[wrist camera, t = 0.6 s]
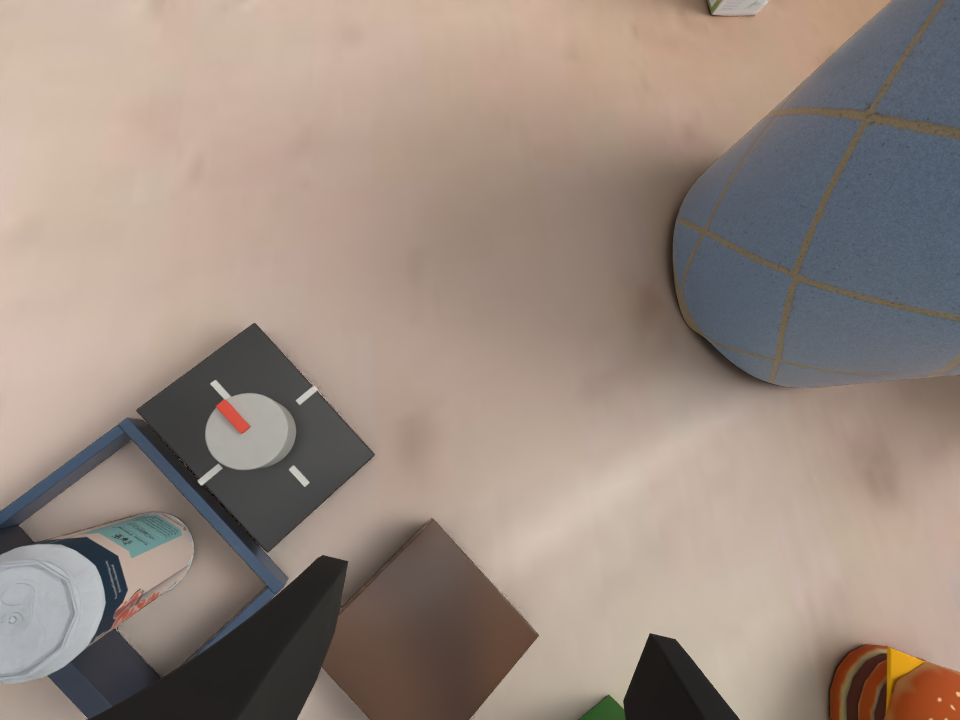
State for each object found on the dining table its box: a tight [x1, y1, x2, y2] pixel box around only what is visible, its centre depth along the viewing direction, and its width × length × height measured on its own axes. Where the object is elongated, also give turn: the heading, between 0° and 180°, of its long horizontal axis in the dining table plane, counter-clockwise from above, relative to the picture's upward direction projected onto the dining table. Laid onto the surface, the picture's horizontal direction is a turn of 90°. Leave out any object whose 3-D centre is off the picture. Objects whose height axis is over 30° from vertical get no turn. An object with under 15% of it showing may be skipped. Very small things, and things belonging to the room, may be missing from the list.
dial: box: [205, 393, 296, 470], centre depth 27 cm, size 4×4×4 cm
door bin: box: [0, 418, 288, 719], centre depth 26 cm, size 9×13×4 cm
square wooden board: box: [322, 518, 539, 720], centre depth 30 cm, size 10×10×2 cm
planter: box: [673, 0, 960, 388], centre depth 32 cm, size 23×23×24 cm
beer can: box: [0, 512, 194, 684], centre depth 23 cm, size 5×5×12 cm
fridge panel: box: [137, 323, 375, 552], centre depth 30 cm, size 11×8×3 cm
